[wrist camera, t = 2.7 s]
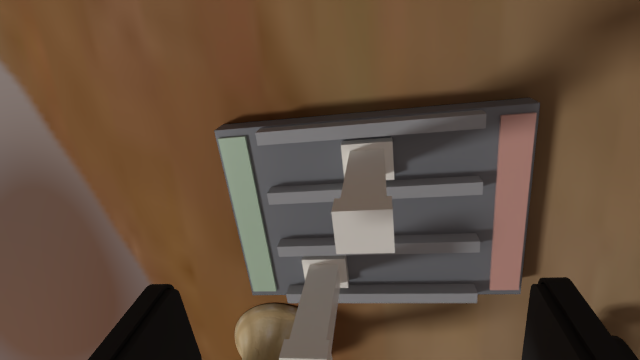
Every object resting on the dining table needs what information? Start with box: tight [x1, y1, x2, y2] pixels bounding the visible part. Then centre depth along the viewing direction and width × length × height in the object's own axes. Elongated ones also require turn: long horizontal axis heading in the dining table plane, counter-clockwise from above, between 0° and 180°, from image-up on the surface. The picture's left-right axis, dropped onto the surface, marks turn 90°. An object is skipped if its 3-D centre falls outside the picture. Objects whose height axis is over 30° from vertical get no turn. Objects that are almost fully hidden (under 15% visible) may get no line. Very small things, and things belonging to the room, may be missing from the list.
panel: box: [214, 98, 540, 303], centre depth 25 cm, size 19×13×2 cm
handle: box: [279, 255, 349, 360], centre depth 23 cm, size 3×2×9 cm
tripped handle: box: [331, 137, 395, 254], centre depth 19 cm, size 3×2×9 cm
